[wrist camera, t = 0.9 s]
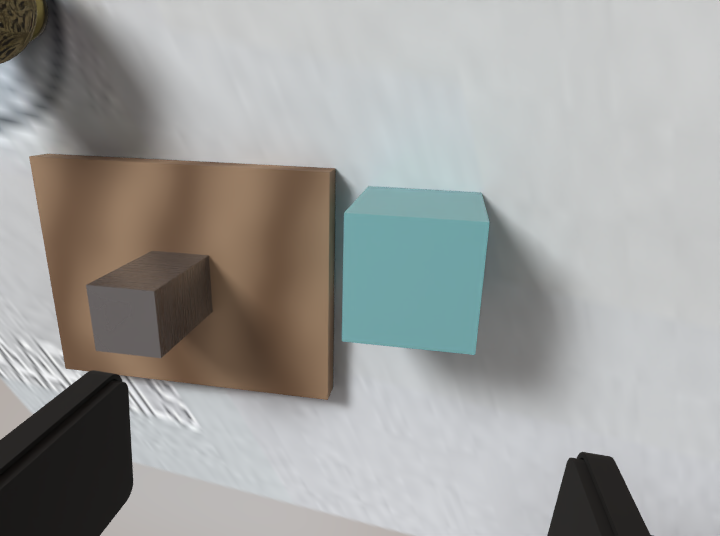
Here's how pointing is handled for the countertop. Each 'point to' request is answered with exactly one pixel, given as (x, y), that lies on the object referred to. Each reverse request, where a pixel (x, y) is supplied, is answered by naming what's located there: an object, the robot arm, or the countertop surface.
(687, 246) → the countertop surface
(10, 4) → the olive patterned hollow container
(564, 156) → the countertop surface
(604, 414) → the countertop surface
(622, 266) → the countertop surface
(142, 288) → the metal post
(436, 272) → the aqua foam cube
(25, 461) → the robot arm
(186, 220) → the walnut board
